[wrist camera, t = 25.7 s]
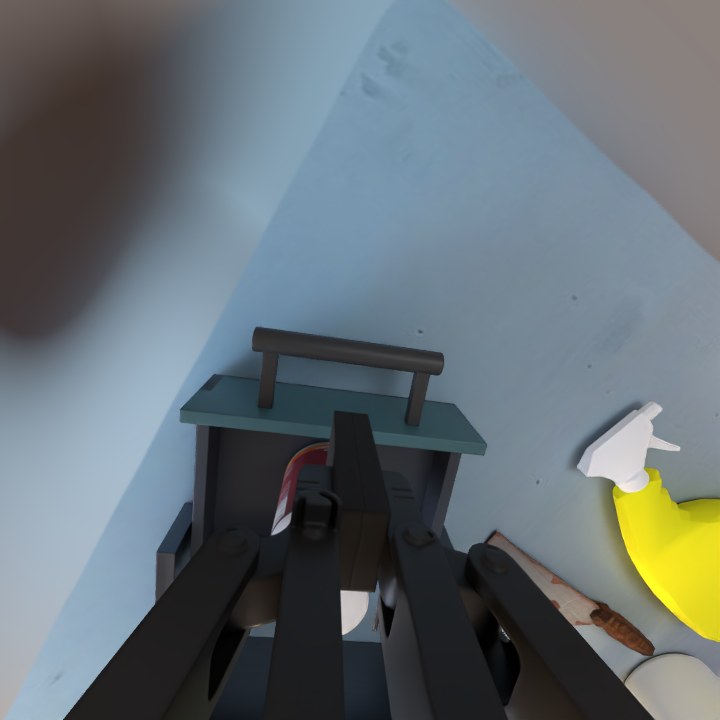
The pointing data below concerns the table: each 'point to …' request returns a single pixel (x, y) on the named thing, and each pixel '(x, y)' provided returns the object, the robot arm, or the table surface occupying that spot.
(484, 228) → the table surface
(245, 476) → the drawer
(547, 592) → the kitchen knife
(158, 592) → the drawer housing
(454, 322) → the table surface
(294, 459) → the pill bottle
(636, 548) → the spray bottle
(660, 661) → the mug
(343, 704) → the robot arm
